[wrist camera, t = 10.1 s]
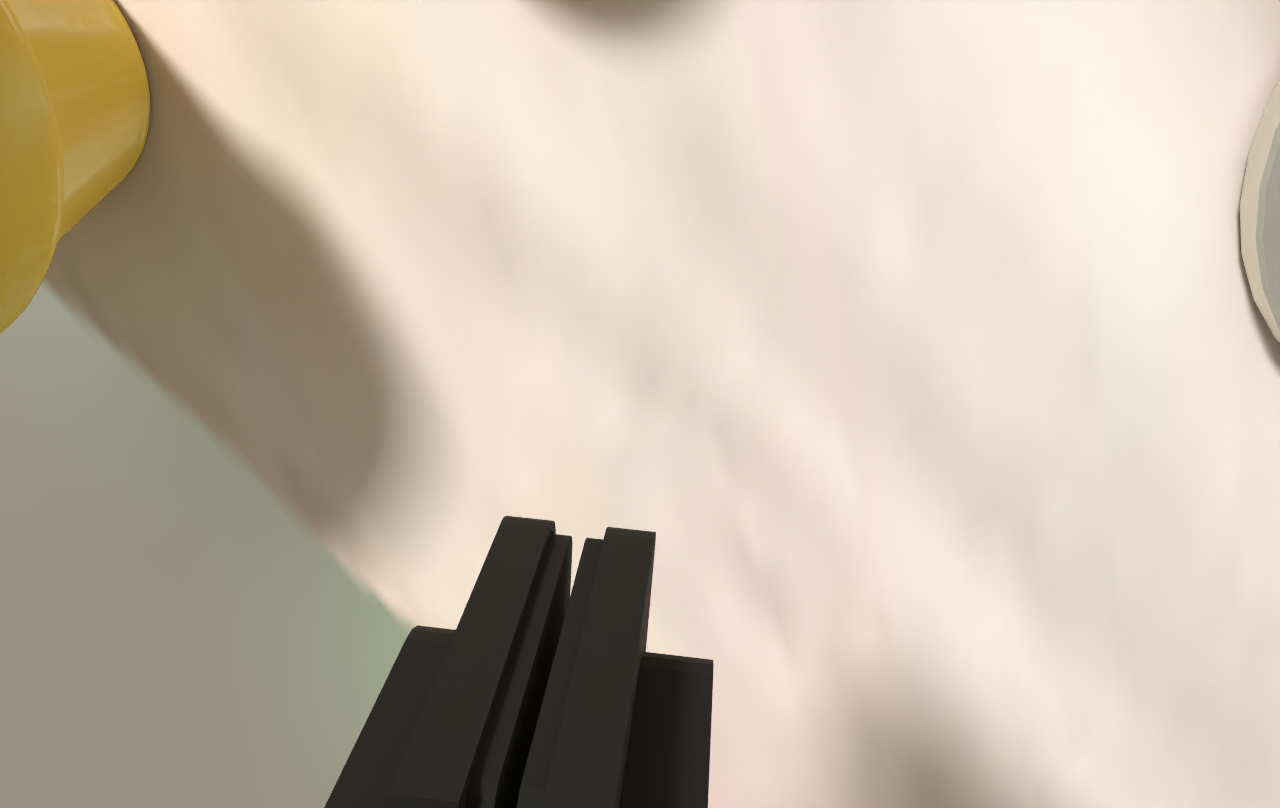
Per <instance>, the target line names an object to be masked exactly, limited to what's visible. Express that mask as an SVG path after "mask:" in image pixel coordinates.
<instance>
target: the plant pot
mask: <svg viewBox="0 0 1280 808" xmlns="http://www.w3.org/2000/svg"><path fill="white" fill-rule="evenodd" d="M149 120H150V92H149V85H148V78H147V74H146V69H145V65H144V62H143V59H142V56H141V53H140V50H139V48H138V45H137V43H136V40H135V38H134V36H133V34H132V32H131V30H130V28H129V26H128V24H127V22H126V20H125V18H124V17H123V15H122V13H121V12H120V10H119V8H118V7H117V5H116V4H115V3H114V1H113V0H0V333H2V332H3V331H4V330H5V329H6V328H7V327H8V326H10V325H11V324H12V322H14V320H15V319H16V318H17V317H18V316H19V315H20V314H21V313H22V312H23V311H24V309H25V308H26V307H27V305H28V304H29V303H30V301H31V300H32V298H33V297H34V295H35V293H36V292H37V290H38V288H39V286H40V284H41V282H42V281H43V279H44V277H45V275H46V273H47V271H48V268H49V266H50V263H51V261H52V258H53V256H54V253H55V249H56V245H57V242H58V241H59V240H60V239H61V238H62V237H63V236H64V235H65V234H66V233H68V232H69V231H70V230H71V229H72V228H73V227H74V226H75V225H76V224H77V223H78V222H79V221H80V220H81V219H82V218H83V217H84V216H85V215H86V214H87V213H88V212H89V211H90V210H91V209H92V208H93V207H94V206H95V205H97V204H98V203H99V202H100V201H101V200H102V199H103V198H104V197H105V196H106V195H107V194H109V193H110V192H111V191H112V190H113V189H114V188H115V187H116V186H117V185H118V184H119V183H120V182H121V181H122V180H123V179H124V178H125V177H126V176H127V175H128V174H129V172H130V171H131V170H132V168H133V167H134V165H135V163H136V162H137V160H138V158H139V156H140V154H141V152H142V150H143V147H144V145H145V141H146V137H147V133H148V127H149Z"/></svg>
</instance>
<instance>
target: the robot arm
mask: <svg viewBox="0 0 1280 808" xmlns="http://www.w3.org/2000/svg"><path fill="white" fill-rule="evenodd" d="M1240 224H1241V254H1242V258H1243V262H1244V265H1245V269H1246V273H1247V277H1248V281H1249V284H1250V288H1251V292H1252V296H1253V299H1254V301H1255V303H1256V305H1257V306H1258V308H1259V310H1260V312H1261V314H1262V316H1263V317H1264V319H1265V321H1266V323H1267V325H1268V327H1269V328H1270V330H1271V332H1272V334H1273V336H1274V338H1275V339H1276V340H1277V341H1278V342H1279V343H1280V79H1279V80H1278V82H1277V84H1276V86H1275V87H1274V89H1273V91H1272V92H1271V94H1270V96H1269V99H1268V102H1267V104H1266V107H1265V110H1264V112H1263V115H1262V118H1261V120H1260V123H1259V126H1258V128H1257V131H1256V134H1255V136H1254V139H1253V142H1252V145H1251V147H1250V150H1249V155H1248V160H1247V166H1246V172H1245V178H1244V183H1243V189H1242V195H1241V200H1240ZM655 539H656V532H649V531H640V530H631V529H622V528H613V527H607V529H606V532H605V536H604V540H602V539H593V538H586V540H585V543H584V547H583V551H582V555H581V558H580V562H579V566H578V570H577V574H576V577H575V581H574V585H573V589H572V592H571V596H570V584H571V563H572V537H571V536H566V535H557V534H556V529H555V523H554V521H549V520H540V519H531V518H521V517H512V516H505V517H504V518H503V520H502V521H501V524H500V526H499V529H498V531H497V533H496V536H495V538H494V541H493V543H492V545H491V548H490V550H489V552H488V555H487V557H486V560H485V562H484V564H483V567H482V569H481V572H480V574H479V576H478V579H477V581H476V584H475V586H474V588H473V591H472V593H471V595H470V598H469V600H468V603H467V605H466V607H465V610H464V612H463V615H462V617H461V619H460V622H459V624H458V627H457V629H456V630H451V629H442V628H434V627H425V626H416V627H415V628H413V629H412V630H411V632H410V634H409V635H408V637H407V638H406V641H405V643H404V645H403V647H402V649H401V651H400V653H399V655H398V657H397V659H396V661H395V663H394V665H393V668H392V669H391V671H390V673H389V676H388V678H387V680H386V682H385V684H384V686H383V688H382V690H381V692H380V694H379V696H378V698H377V700H376V703H375V704H374V707H373V709H372V711H371V713H370V715H369V717H368V719H367V721H366V723H365V725H364V727H363V729H362V731H361V734H360V735H359V737H358V740H357V742H356V744H355V746H354V748H353V750H352V752H351V754H350V756H349V758H348V760H347V762H346V764H345V766H344V768H343V770H342V773H341V775H340V777H339V779H338V781H337V783H336V785H335V787H334V789H333V791H332V793H331V795H330V797H329V799H328V801H327V803H326V806H325V808H708V786H709V762H710V738H711V713H712V689H713V660H709V659H700V658H692V657H683V656H675V655H666V654H657V653H649V652H646V641H647V630H648V619H649V607H650V596H651V585H652V574H653V562H654V551H655Z"/></svg>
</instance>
